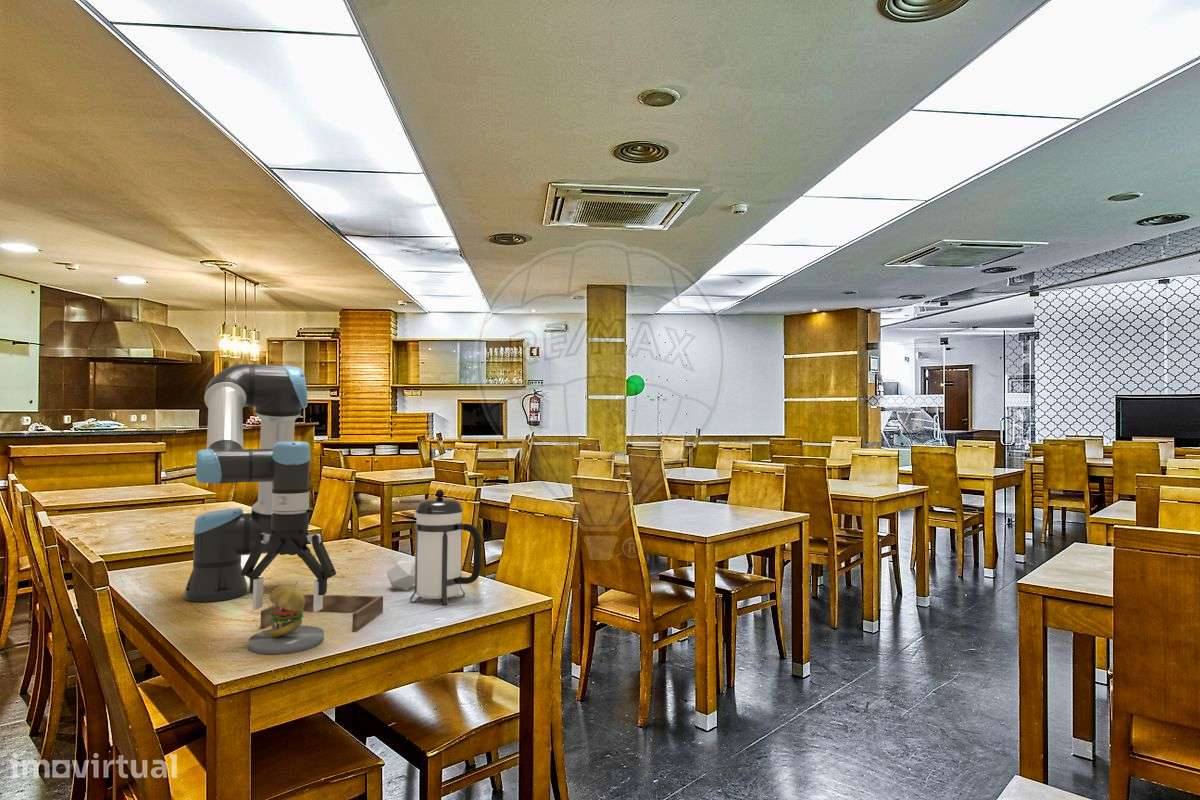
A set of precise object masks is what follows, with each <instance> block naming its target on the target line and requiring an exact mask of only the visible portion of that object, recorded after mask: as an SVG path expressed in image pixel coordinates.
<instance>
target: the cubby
mask: <svg viewBox="0 0 1200 800" xmlns="http://www.w3.org/2000/svg"><path fill="white" fill-rule="evenodd" d="M302 594H303V596H304V598H305V606H304V608H303V610H304V611H303V612H313V605H314V593H310V594H309V593H302ZM274 605H275V604H274V603H273V604H271V605H270V606H268V607H266V608H264V609H261V611H260V627H259V628H260V629H266V628H268V627H270V626H272V624H273V623H274V622H273V623H272V620H270V619H271V618H272V615H270V611H272V610H273V609H274ZM276 607H279V606H275V608H276ZM318 612H330V613H331V612H333V613H352V620H351V621H352V625H351V627H352V628H351V629H352V630H351V631H352V632H357V631H359V630H360V629H362V627H364V626H366V625H367V624H368V623H370V622H371V621H373V620H374V619H375V618H378V616H380V614H383V612H384V596H383V595H357V594H356V595H355V594H354V595H351V594H346V595H345V594H324V595H323V608H322V609H321V610H319V611H318ZM277 622H279V620H278V621H277ZM274 624H275V623H274Z"/></svg>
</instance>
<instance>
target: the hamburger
mask: <svg viewBox="0 0 1200 800" xmlns="http://www.w3.org/2000/svg"><path fill="white" fill-rule="evenodd" d="M298 581H299V580H298V579H297V580H296V582H295V583H294V586H295V587H292V586H284V585H283V586H278V587H276V588H274V589H273V590H272V591H271V592H270V593H269V596H268V599H269V601H270V602H271V605H274V604H275V605H274V609H273V610H272V611H270V615H272V618H271V619H270V620H272V623H273V622H274V623H273V624H272V625H271V629H272V630H270V631H269V633H270V635H271V636H273V637H280V636H284V635H286V634H288V633H291V632H292V631H294V630H296V629H297V628H298V627H299V626H302V623H303V619H304V617H305V616H304V614H303V612H305V611H304V610H303V608H304V606H305V598H304V596H303V594H304V593H302V592H301V591H300V590H298V589H297V588H296V587H297V585H298ZM275 606H279V607H276V608H275ZM278 620H279V621H278Z"/></svg>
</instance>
